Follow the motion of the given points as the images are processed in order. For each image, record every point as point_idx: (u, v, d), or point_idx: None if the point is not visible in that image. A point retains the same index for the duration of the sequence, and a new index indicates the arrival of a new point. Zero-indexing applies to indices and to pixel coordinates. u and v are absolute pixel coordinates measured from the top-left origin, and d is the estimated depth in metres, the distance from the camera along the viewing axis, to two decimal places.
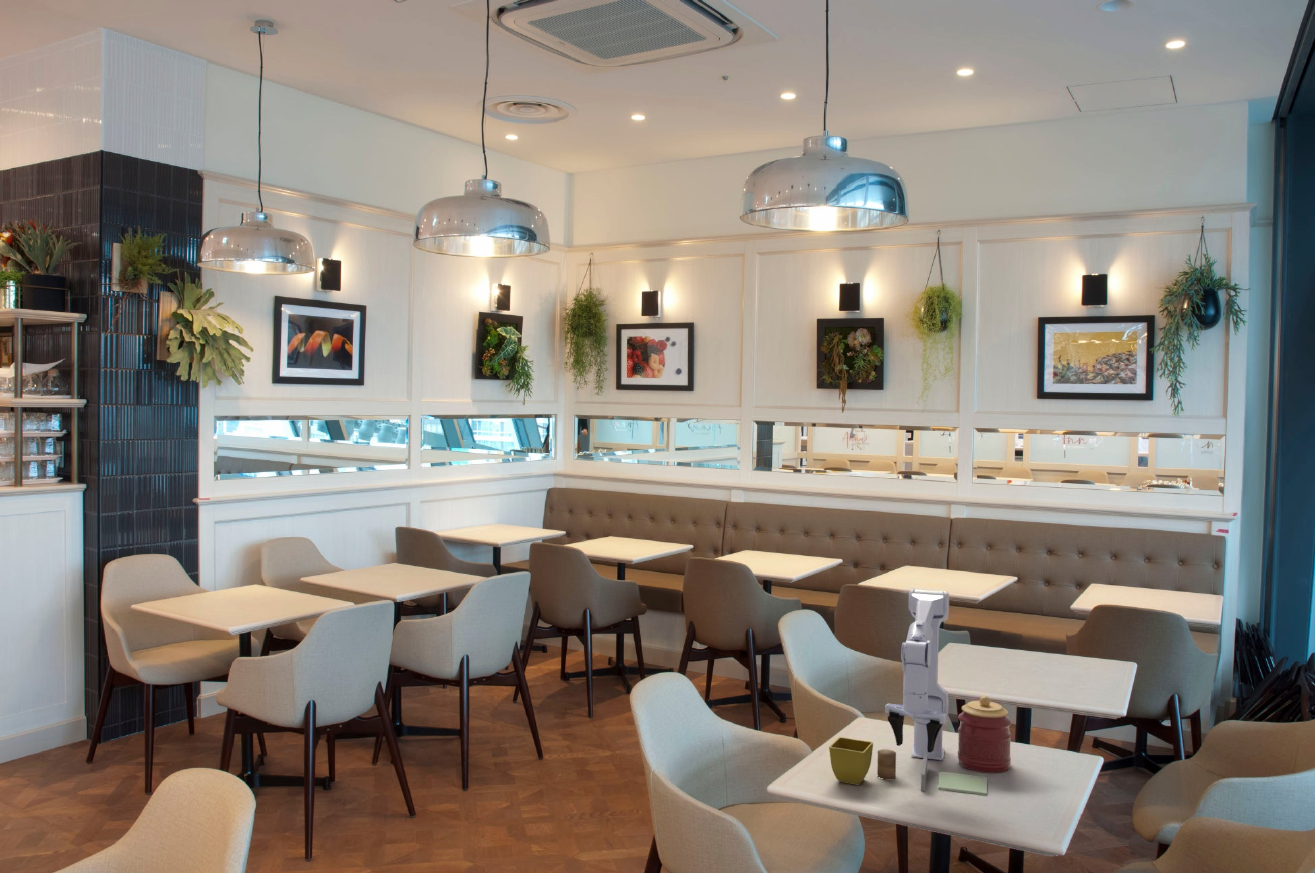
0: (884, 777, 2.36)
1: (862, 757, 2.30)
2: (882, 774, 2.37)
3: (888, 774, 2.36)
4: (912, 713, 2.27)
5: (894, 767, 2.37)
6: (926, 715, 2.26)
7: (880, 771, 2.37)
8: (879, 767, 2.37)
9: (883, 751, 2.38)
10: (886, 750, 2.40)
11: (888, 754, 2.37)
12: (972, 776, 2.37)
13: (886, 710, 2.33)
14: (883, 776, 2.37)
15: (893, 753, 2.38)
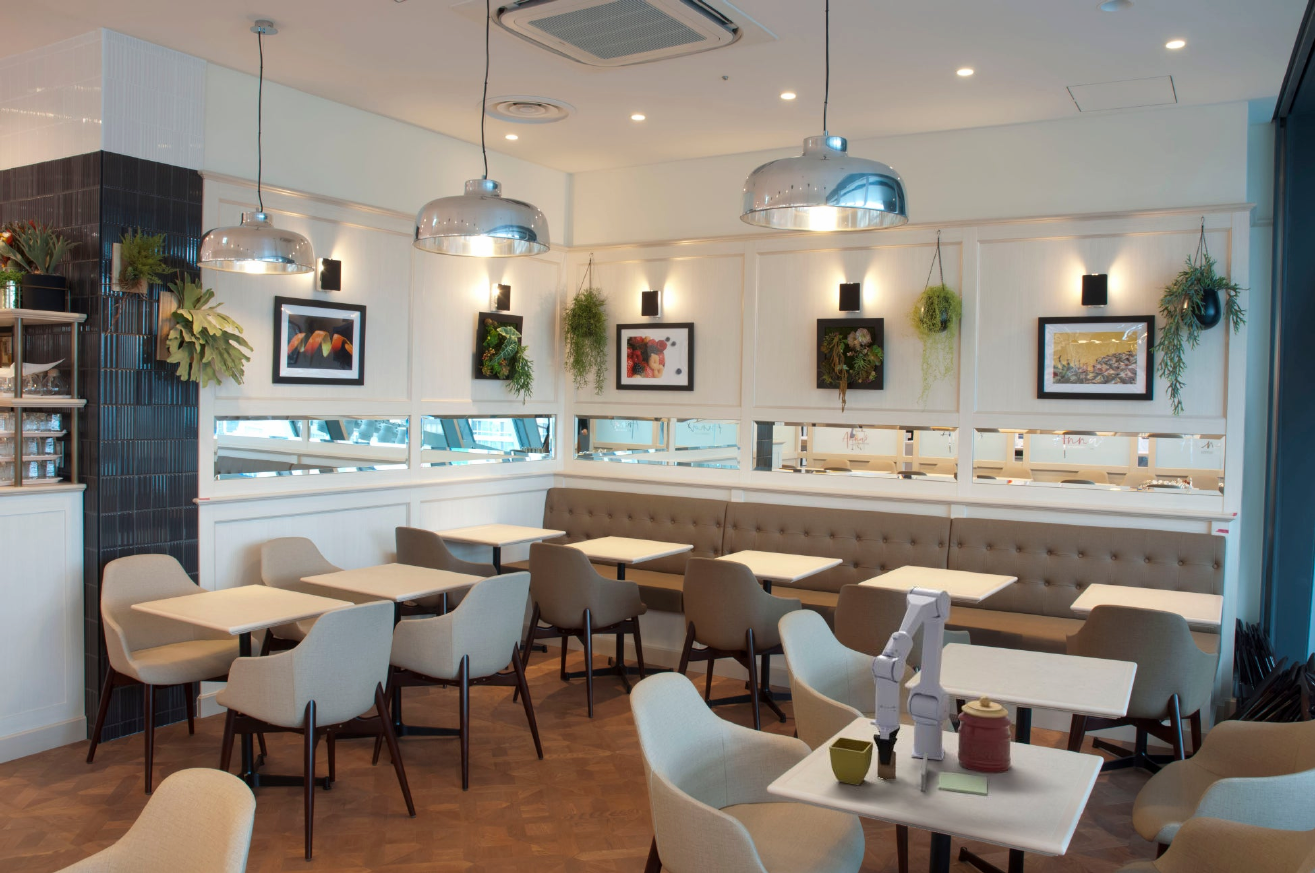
0: (884, 777, 2.36)
1: (862, 757, 2.30)
2: (882, 774, 2.37)
3: (888, 774, 2.36)
4: (873, 721, 2.39)
5: (894, 767, 2.37)
6: (877, 726, 2.36)
7: (880, 771, 2.37)
8: (879, 767, 2.37)
9: None
10: None
11: None
12: (972, 776, 2.37)
13: None
14: (883, 776, 2.37)
15: (893, 753, 2.38)
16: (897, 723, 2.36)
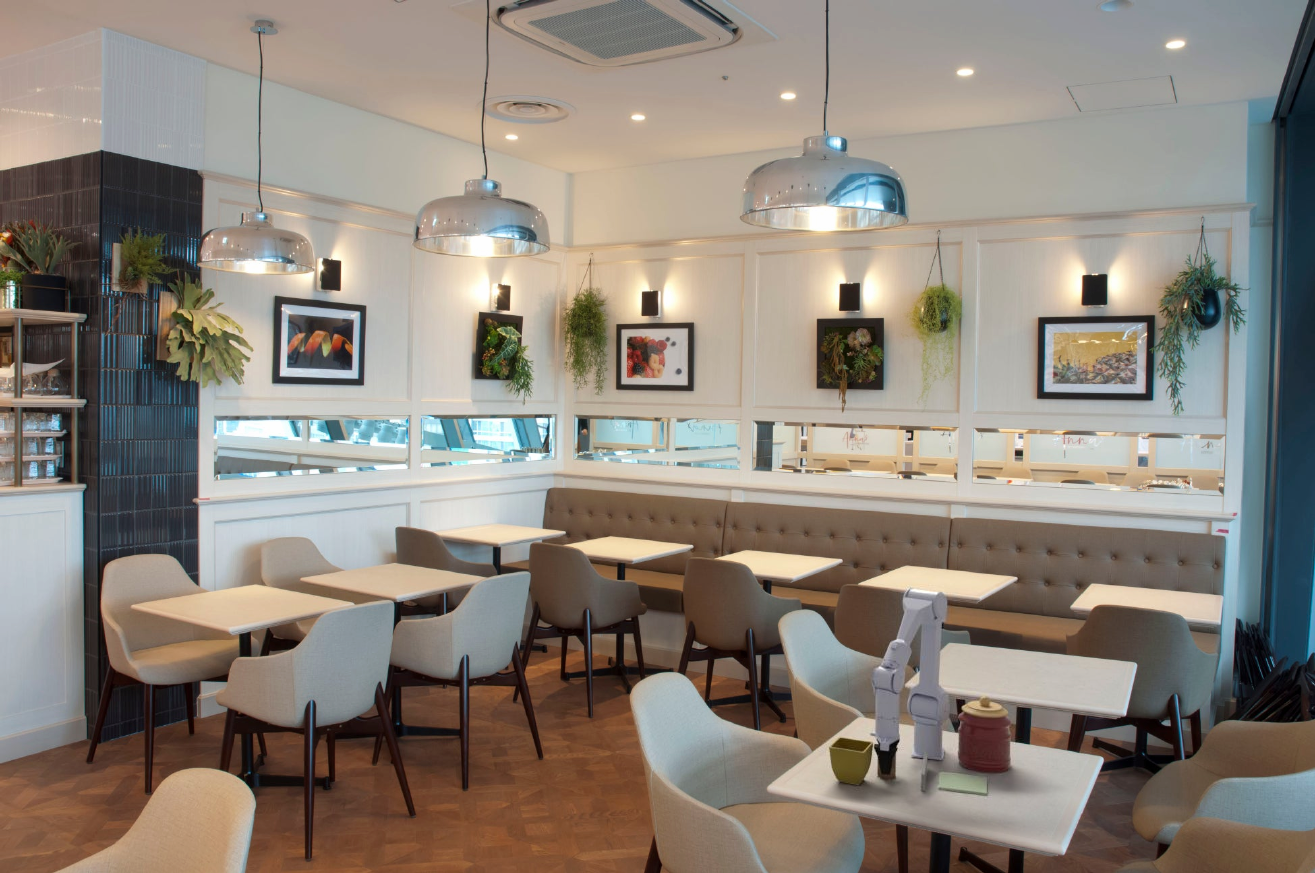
0: (884, 777, 2.36)
1: (862, 757, 2.30)
2: (882, 774, 2.37)
3: None
4: (872, 732, 2.39)
5: (894, 767, 2.37)
6: (877, 738, 2.36)
7: (880, 771, 2.37)
8: (879, 767, 2.37)
9: None
10: None
11: None
12: (972, 776, 2.37)
13: None
14: (883, 775, 2.37)
15: None
16: (897, 734, 2.36)
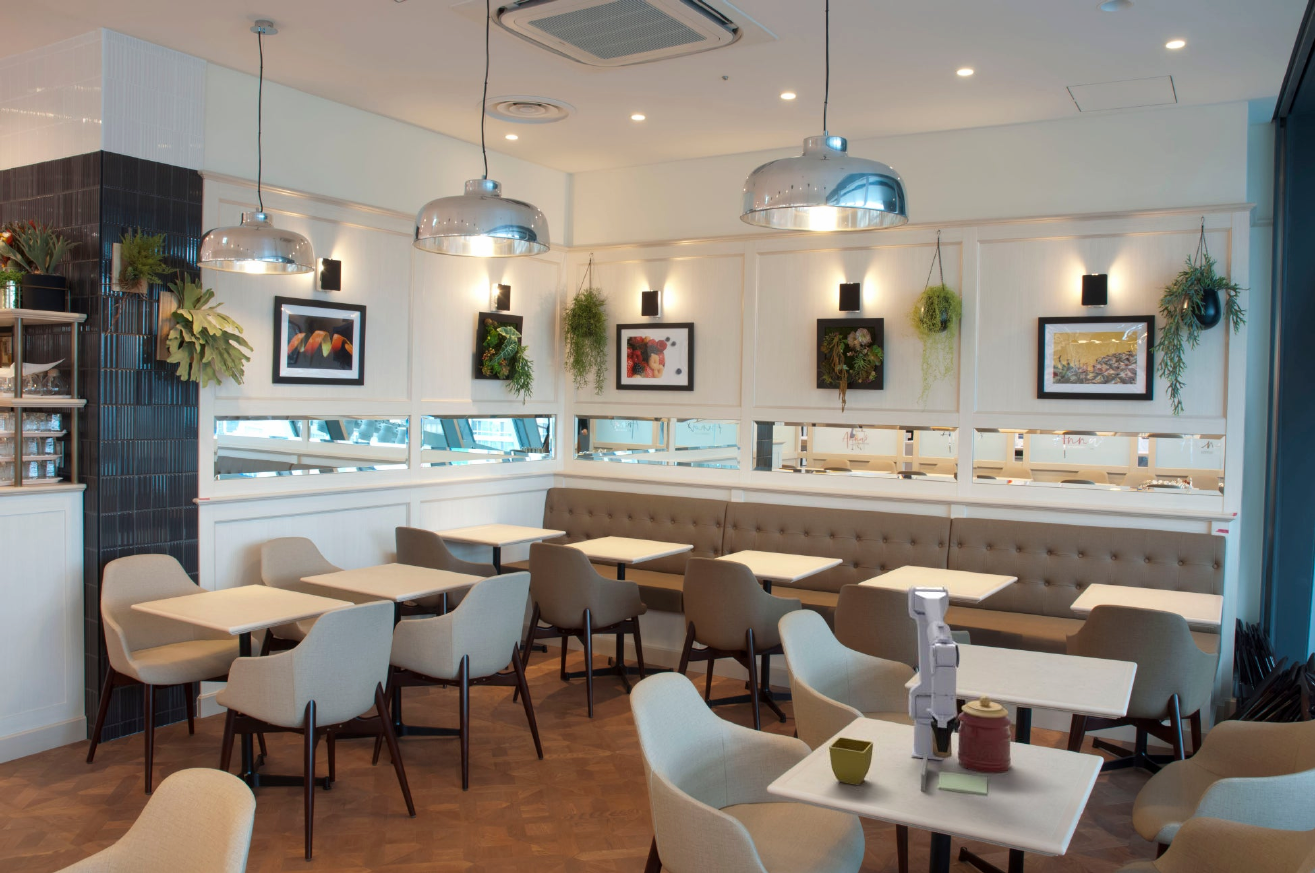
0: (940, 755, 2.32)
1: (862, 757, 2.30)
2: (938, 752, 2.32)
3: None
4: (929, 710, 2.35)
5: (950, 745, 2.33)
6: (934, 715, 2.31)
7: (935, 749, 2.33)
8: (934, 745, 2.33)
9: None
10: None
11: None
12: (972, 776, 2.37)
13: None
14: (939, 754, 2.32)
15: None
16: (954, 711, 2.32)
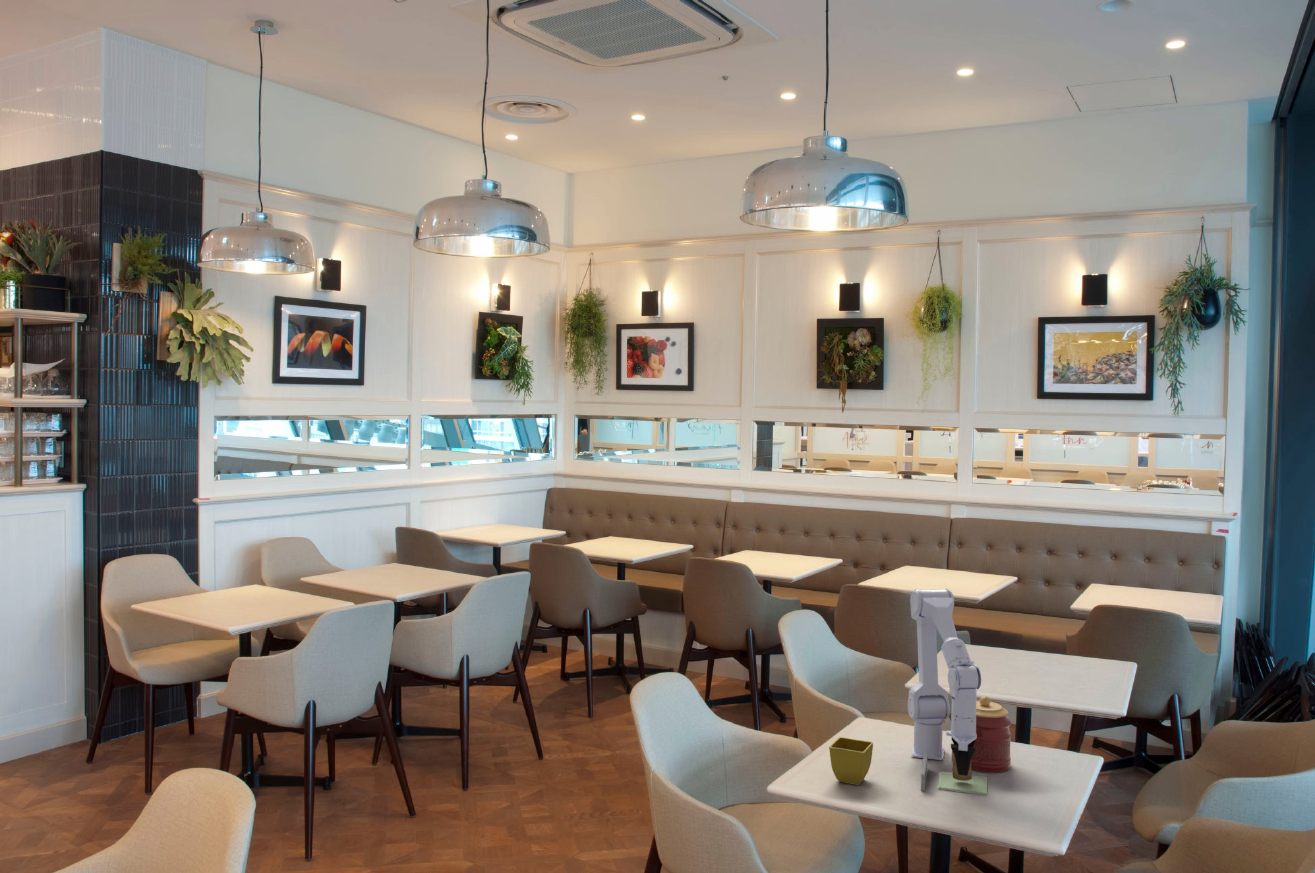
0: (960, 778, 2.31)
1: (862, 757, 2.30)
2: (958, 775, 2.31)
3: (964, 775, 2.31)
4: (948, 732, 2.33)
5: (970, 767, 2.31)
6: (954, 737, 2.30)
7: (955, 772, 2.32)
8: (954, 768, 2.32)
9: None
10: None
11: None
12: (972, 776, 2.37)
13: None
14: (959, 777, 2.31)
15: None
16: (974, 734, 2.31)
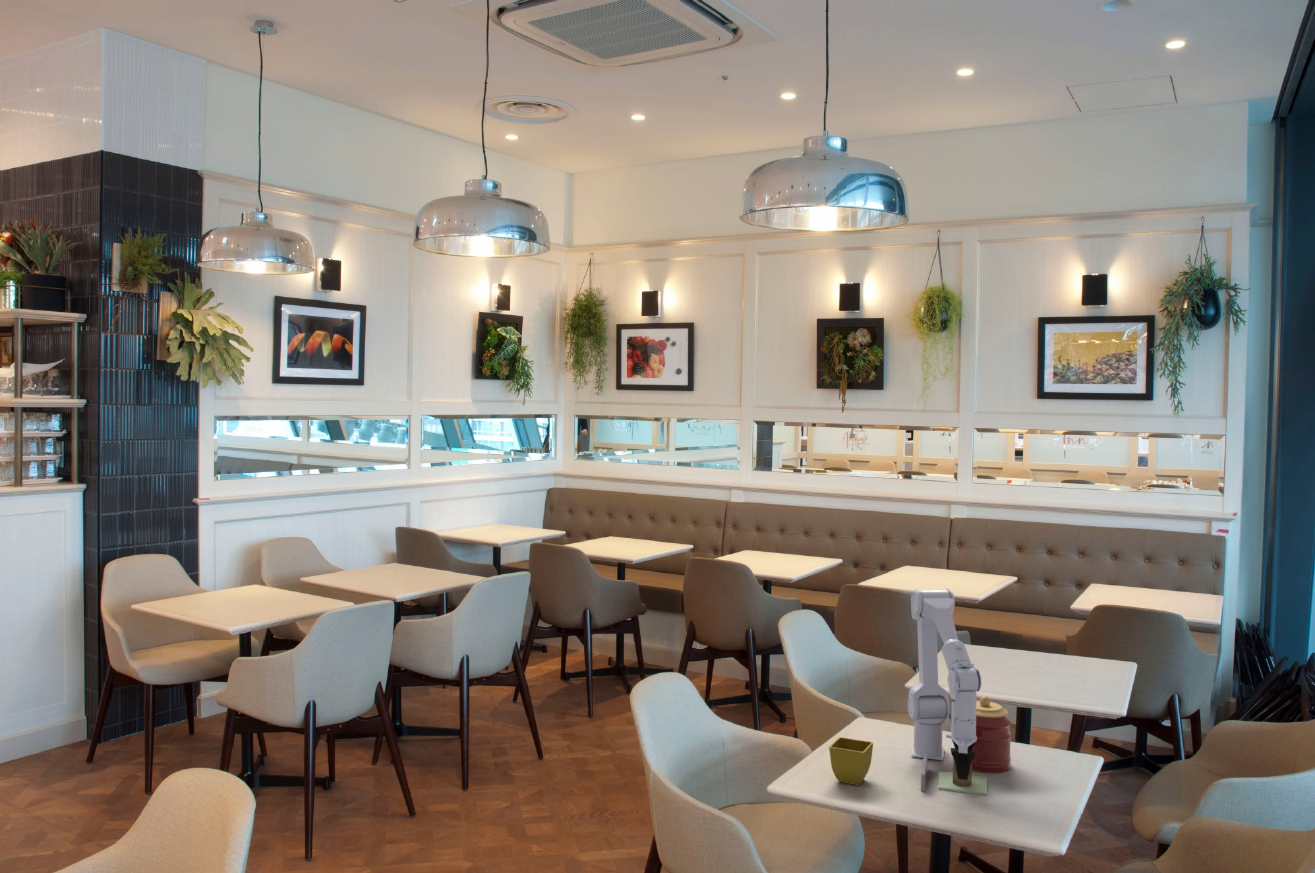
0: (960, 784, 2.31)
1: (862, 757, 2.30)
2: (958, 781, 2.31)
3: (964, 781, 2.31)
4: (948, 734, 2.33)
5: (970, 774, 2.31)
6: (954, 740, 2.30)
7: (955, 778, 2.32)
8: (955, 774, 2.32)
9: None
10: None
11: None
12: (972, 776, 2.37)
13: None
14: (959, 783, 2.31)
15: None
16: (974, 736, 2.31)
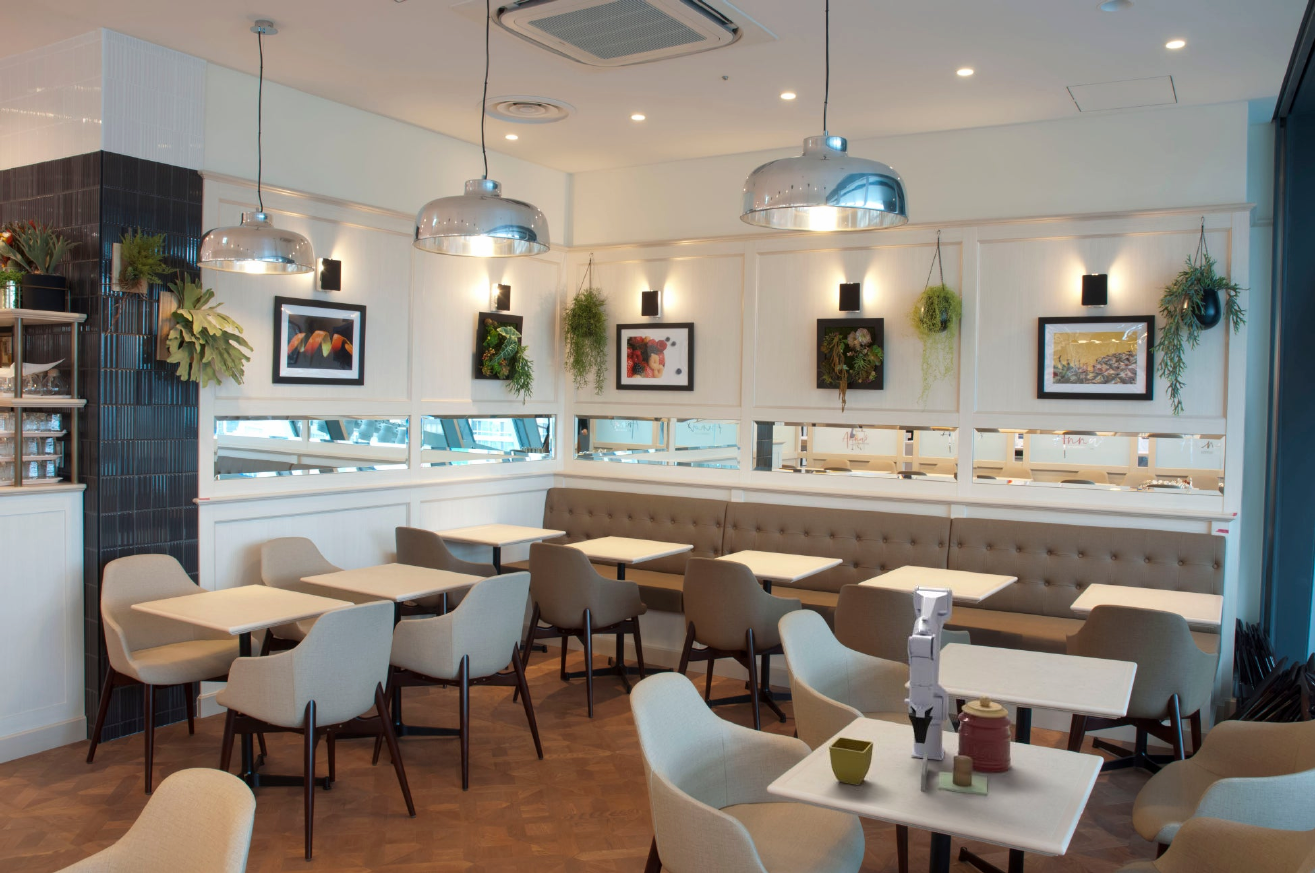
0: (960, 784, 2.31)
1: (862, 757, 2.30)
2: (958, 781, 2.31)
3: (965, 781, 2.31)
4: (907, 700, 2.39)
5: (971, 774, 2.31)
6: (912, 705, 2.36)
7: (956, 777, 2.32)
8: (955, 774, 2.32)
9: (959, 758, 2.33)
10: (962, 756, 2.34)
11: (965, 761, 2.31)
12: (972, 776, 2.37)
13: None
14: (959, 782, 2.31)
15: (970, 759, 2.32)
16: (932, 701, 2.37)
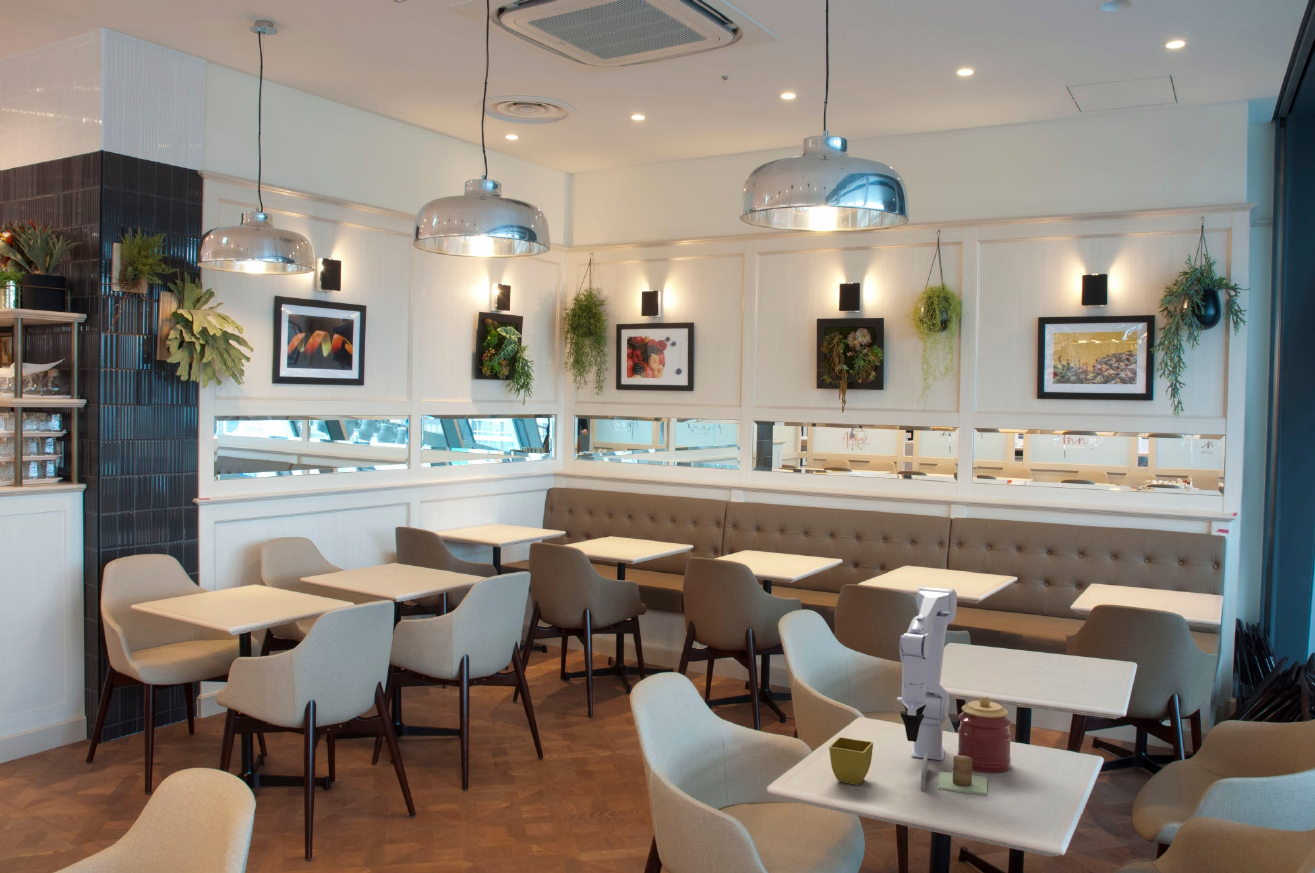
0: (961, 783, 2.31)
1: (862, 757, 2.30)
2: (959, 780, 2.31)
3: (965, 781, 2.31)
4: (899, 698, 2.41)
5: (971, 773, 2.31)
6: (904, 703, 2.37)
7: (956, 777, 2.32)
8: (955, 773, 2.32)
9: (959, 757, 2.33)
10: (961, 756, 2.34)
11: (965, 760, 2.31)
12: (972, 776, 2.37)
13: None
14: (960, 782, 2.31)
15: (970, 759, 2.32)
16: (924, 700, 2.38)
